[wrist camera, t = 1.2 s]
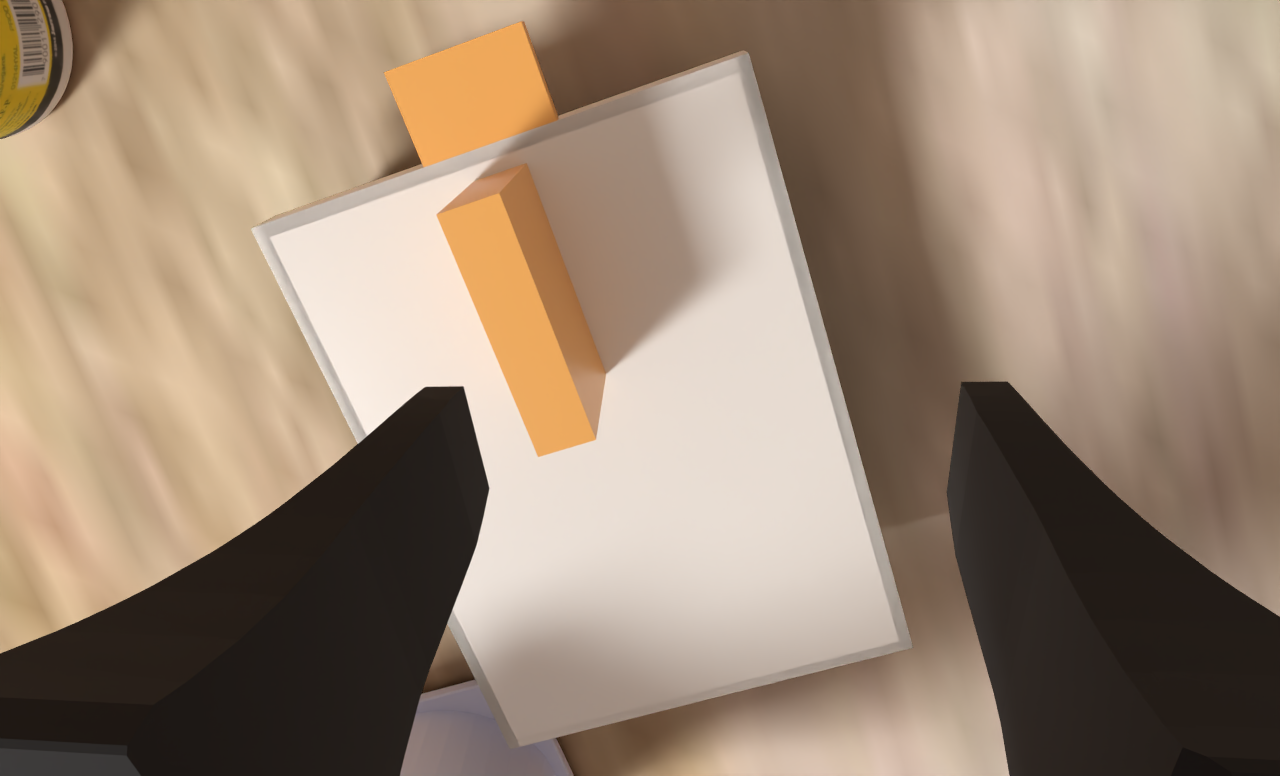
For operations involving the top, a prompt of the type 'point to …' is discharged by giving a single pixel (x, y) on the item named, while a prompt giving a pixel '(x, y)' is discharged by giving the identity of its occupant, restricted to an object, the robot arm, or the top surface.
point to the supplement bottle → (32, 61)
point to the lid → (607, 384)
